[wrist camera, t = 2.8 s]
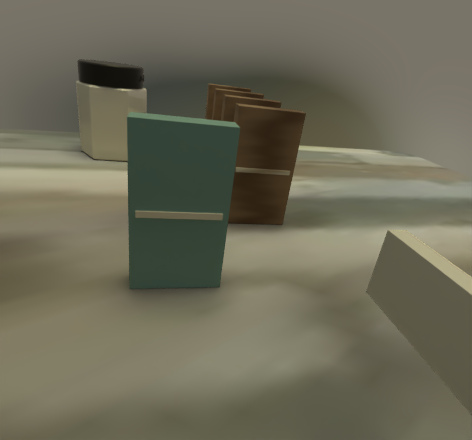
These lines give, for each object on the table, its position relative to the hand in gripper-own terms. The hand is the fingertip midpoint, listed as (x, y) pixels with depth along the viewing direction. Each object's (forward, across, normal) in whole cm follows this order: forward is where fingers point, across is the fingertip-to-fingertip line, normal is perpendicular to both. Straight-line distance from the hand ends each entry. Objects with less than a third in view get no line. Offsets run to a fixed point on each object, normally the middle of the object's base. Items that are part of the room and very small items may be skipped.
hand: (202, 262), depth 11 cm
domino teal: (+10, 0, -8) cm, 13 cm away
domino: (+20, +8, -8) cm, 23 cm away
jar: (+41, -8, -8) cm, 43 cm away
